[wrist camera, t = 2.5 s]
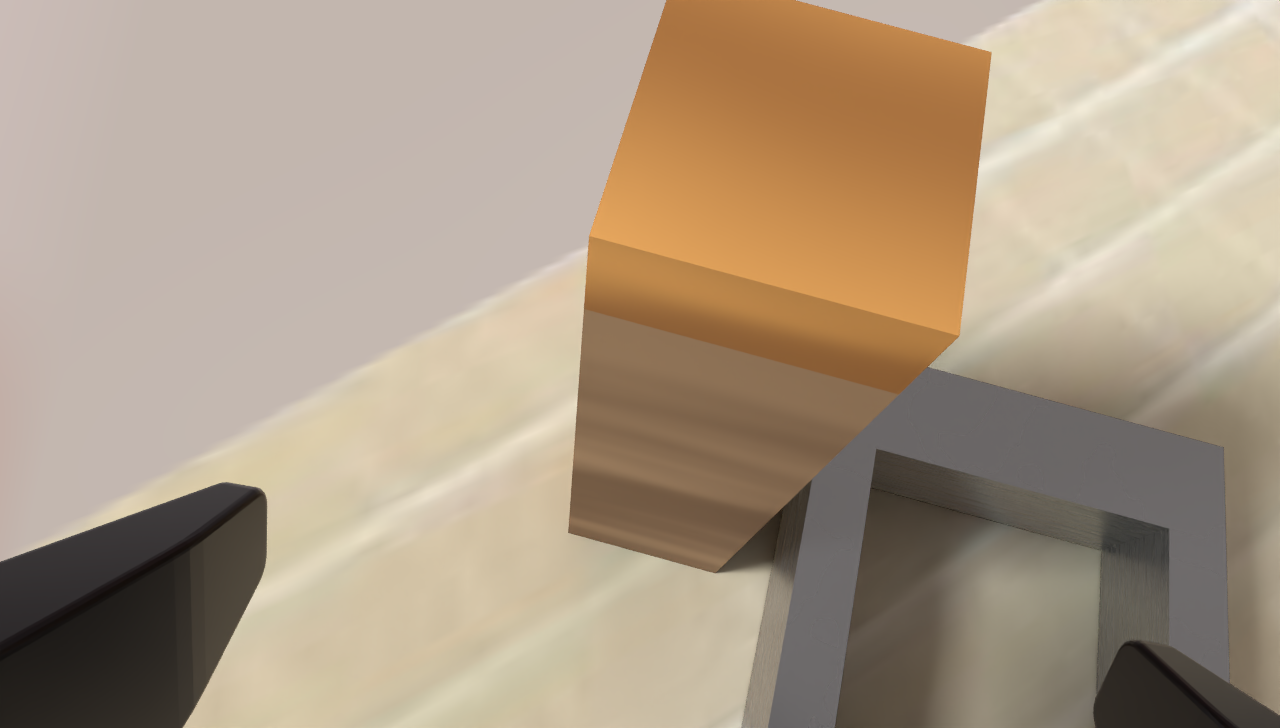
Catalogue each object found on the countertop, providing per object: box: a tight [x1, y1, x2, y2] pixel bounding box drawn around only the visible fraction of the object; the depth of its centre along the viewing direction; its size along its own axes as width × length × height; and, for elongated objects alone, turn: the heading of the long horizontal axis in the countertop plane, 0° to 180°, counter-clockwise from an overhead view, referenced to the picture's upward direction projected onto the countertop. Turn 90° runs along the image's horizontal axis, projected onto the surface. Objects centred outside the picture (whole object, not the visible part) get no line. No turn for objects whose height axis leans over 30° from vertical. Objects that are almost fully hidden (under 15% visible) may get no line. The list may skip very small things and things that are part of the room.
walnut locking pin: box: [568, 0, 992, 573], centre depth 15 cm, size 4×4×13 cm
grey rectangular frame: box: [742, 367, 1230, 728], centre depth 18 cm, size 11×9×2 cm
